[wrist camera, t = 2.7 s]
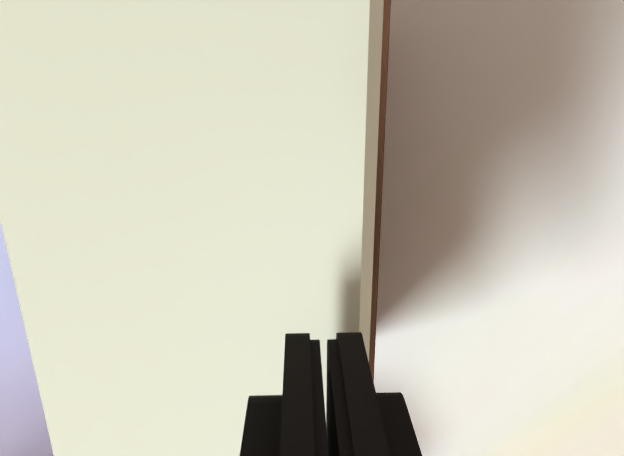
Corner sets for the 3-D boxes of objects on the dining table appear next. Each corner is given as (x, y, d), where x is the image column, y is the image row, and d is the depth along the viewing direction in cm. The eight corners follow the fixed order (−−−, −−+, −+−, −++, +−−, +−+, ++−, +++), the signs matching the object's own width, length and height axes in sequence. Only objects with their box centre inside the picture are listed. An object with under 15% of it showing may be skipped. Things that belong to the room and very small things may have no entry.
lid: (386, -64, 9) (372, -74, 9) (359, 598, 15) (349, 623, 15) (-26, -15, 15) (-54, -18, 14) (73, 455, 21) (56, 468, 20)
